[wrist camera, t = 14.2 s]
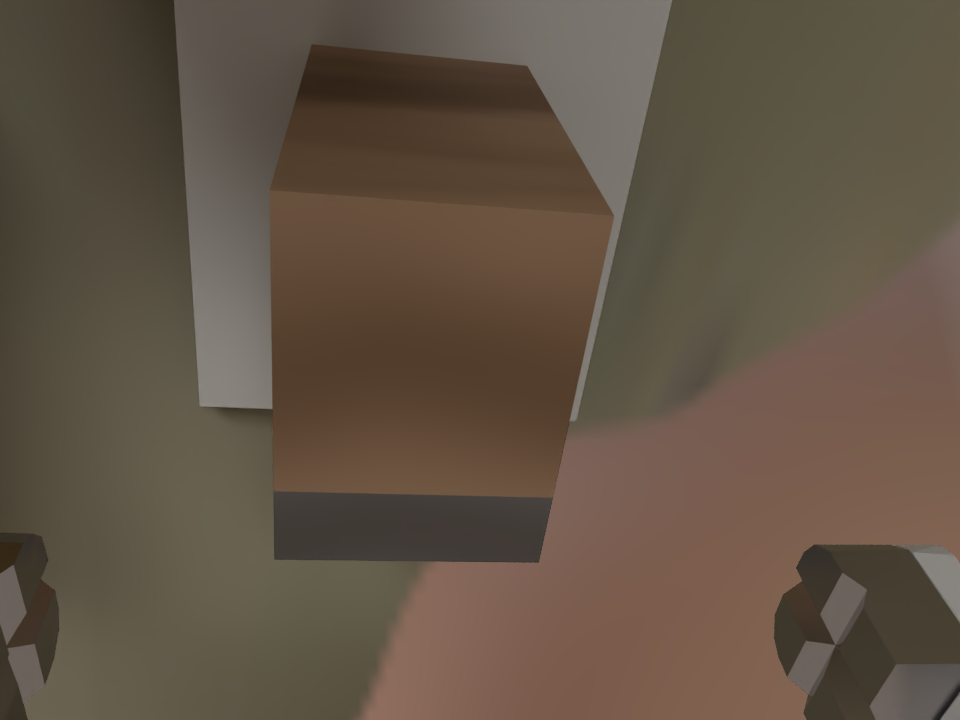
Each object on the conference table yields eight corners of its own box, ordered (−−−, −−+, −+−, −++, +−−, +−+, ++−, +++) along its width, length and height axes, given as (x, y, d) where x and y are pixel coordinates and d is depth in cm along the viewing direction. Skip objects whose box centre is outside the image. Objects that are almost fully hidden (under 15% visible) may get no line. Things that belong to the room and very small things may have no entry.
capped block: (311, 44, 17) (269, 189, 11) (527, 65, 18) (614, 216, 11) (308, 319, 21) (274, 559, 14) (489, 328, 21) (538, 562, 15)
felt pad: (174, -128, 16) (165, -126, 16) (674, -63, 18) (685, -59, 17) (205, 388, 23) (199, 406, 22) (570, 404, 24) (576, 421, 23)
